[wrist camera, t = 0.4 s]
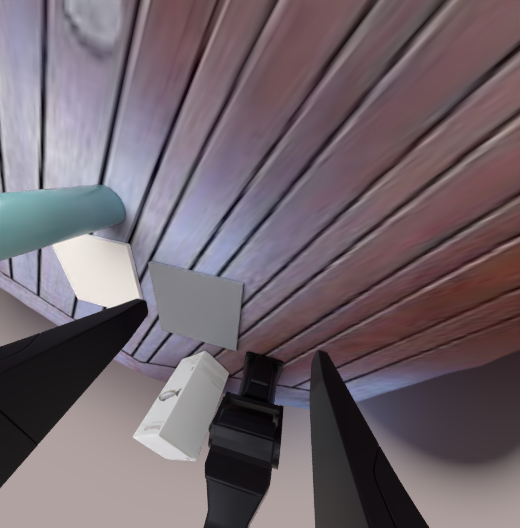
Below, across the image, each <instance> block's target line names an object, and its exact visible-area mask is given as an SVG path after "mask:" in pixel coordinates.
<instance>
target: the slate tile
mask: <svg viewBox="0 0 520 528" xmlns="http://www.w3.org/2000/svg"><path fill="white" fill-rule="evenodd" d="M148 264H149V269H150V274H151V279H152V284H153V289H154V294H155V299H156V304H157V309H158V314H159V319H160V324H161V329H162V330H164V331H167V332H171V333H174V334H178V335H181V336H185V337H188V338H192V339H195V340H199V341H202V342H206V343H209V344H213V345H216V346H220V347H223V348H227V349H230V350H233V351H236V350H237V344H238V334H239V324H240V315H241V305H242V296H243V286H244V283H242V282H238V281H234V280H230V279H226V278H221V277H217V276H213V275H209V274H205V273H200V272H196V271H192V270H188V269H184V268H179V267H175V266H171V265H167V264H163V263H158V262H154V261H150V262H148Z"/></svg>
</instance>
